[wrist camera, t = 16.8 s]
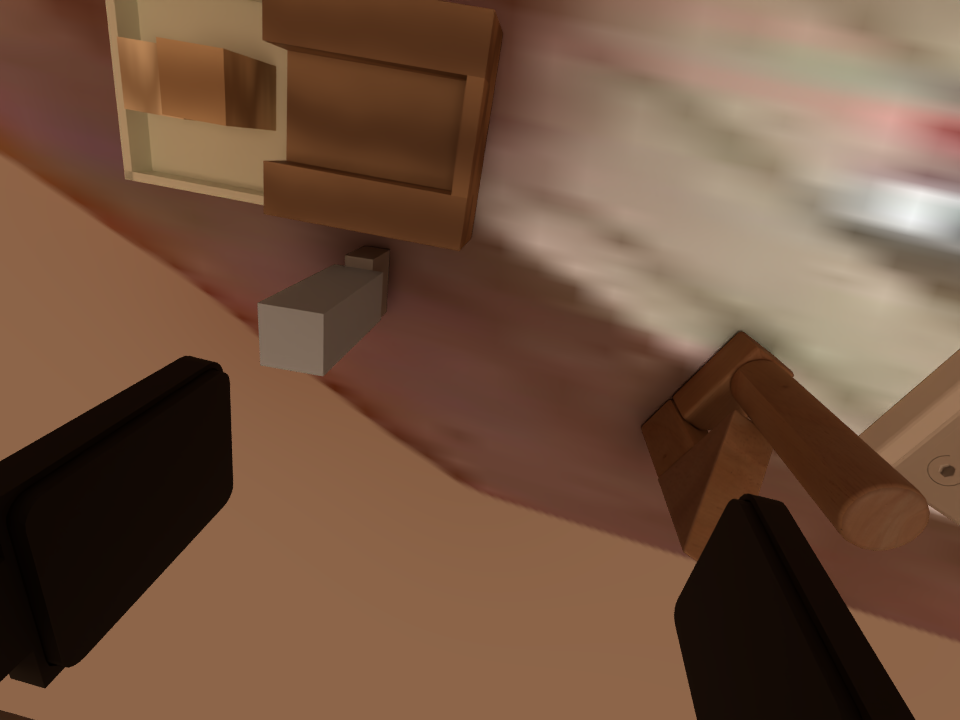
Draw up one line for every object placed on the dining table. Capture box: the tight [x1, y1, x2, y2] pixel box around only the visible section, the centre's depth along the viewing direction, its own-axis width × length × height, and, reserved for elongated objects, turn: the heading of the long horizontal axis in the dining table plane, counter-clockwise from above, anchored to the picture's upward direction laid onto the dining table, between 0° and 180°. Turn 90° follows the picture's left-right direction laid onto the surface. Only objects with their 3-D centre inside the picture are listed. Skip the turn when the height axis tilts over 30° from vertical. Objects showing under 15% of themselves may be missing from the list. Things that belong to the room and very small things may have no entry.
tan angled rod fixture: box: [641, 332, 930, 561], centre depth 31 cm, size 4×11×18 cm, turn 145°
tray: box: [105, 0, 287, 205], centre depth 34 cm, size 13×12×2 cm
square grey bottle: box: [258, 246, 390, 376], centre depth 32 cm, size 5×4×14 cm
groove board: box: [262, 0, 503, 251], centre depth 32 cm, size 13×13×6 cm
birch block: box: [117, 36, 196, 121], centre depth 33 cm, size 4×4×4 cm
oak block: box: [156, 37, 276, 131], centre depth 32 cm, size 4×4×6 cm
